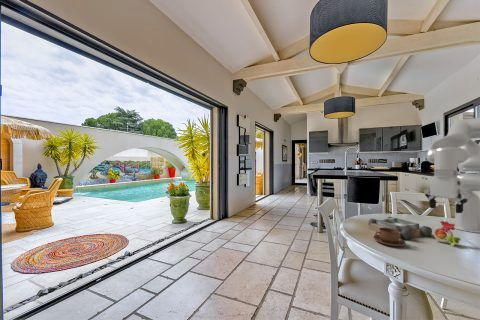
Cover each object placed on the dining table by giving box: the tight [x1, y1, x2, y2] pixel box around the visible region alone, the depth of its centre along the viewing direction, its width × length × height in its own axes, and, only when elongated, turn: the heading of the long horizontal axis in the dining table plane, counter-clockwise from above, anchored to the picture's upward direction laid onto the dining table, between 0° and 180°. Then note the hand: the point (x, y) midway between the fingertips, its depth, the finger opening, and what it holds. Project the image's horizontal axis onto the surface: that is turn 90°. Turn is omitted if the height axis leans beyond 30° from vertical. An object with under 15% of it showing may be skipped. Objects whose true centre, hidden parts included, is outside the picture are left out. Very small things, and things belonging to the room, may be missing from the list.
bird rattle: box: [432, 220, 462, 247], centre depth 95 cm, size 6×11×9 cm
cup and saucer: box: [373, 228, 406, 247], centre depth 95 cm, size 12×12×6 cm
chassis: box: [367, 216, 433, 241], centre depth 110 cm, size 22×20×6 cm
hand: (445, 210), depth 94 cm, fingers open, 9 cm apart
